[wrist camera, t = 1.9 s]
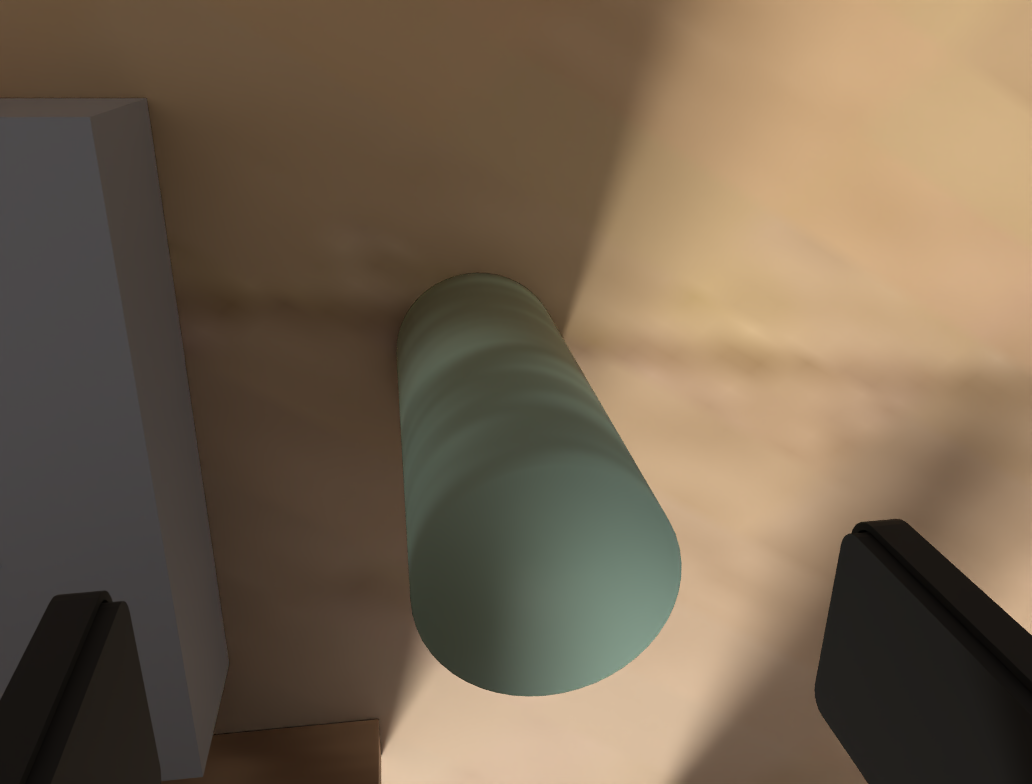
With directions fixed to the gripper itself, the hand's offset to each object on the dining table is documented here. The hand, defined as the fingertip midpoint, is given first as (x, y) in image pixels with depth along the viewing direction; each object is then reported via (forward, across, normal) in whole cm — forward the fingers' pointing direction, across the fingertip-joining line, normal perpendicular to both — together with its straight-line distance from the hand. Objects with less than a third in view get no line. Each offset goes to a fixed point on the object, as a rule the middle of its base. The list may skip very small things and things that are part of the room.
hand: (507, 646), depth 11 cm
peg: (+11, -1, 0) cm, 11 cm away
